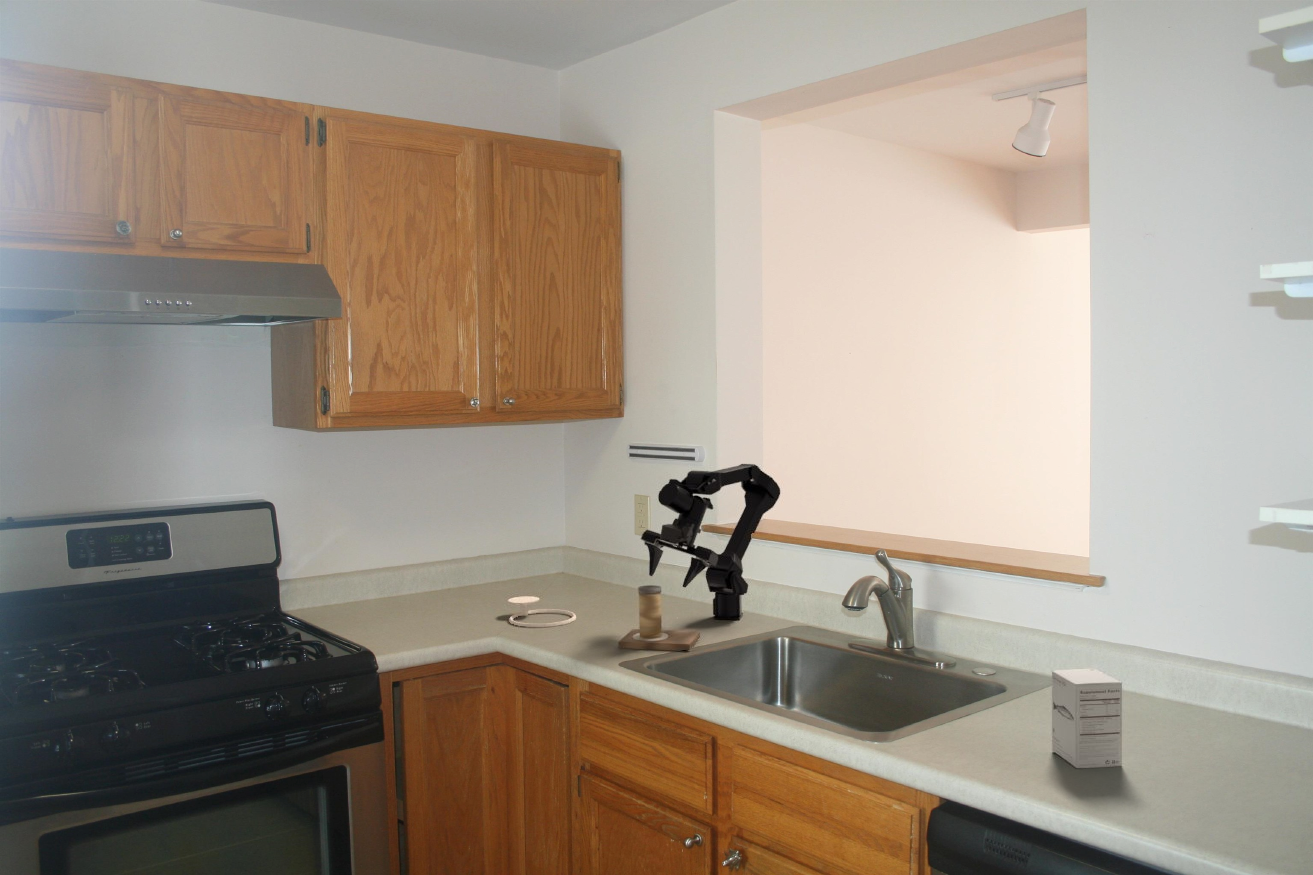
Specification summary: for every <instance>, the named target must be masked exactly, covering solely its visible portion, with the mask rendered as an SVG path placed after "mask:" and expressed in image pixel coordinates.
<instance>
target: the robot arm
mask: <svg viewBox="0 0 1313 875" xmlns="http://www.w3.org/2000/svg"><path fill="white" fill-rule="evenodd" d="M737 483H740V484H741V485H740V487H741V489H742V490H743V491H744V496H743V497H744V504H745V506H744V508H743V511H742V513H741V515H740V518H739V520H738V521H737V523H736V526H735V527H734V529H733V531H732V534H731V535H730V538H729V540H728V542H727V544H726V545H725V546H726V547H725V548H724V550H723V552H722V553H717V552H716V551H714V550H713V549H711V548H708V547H705V546H701V545H697V546H696V545H695V541H696V538H697V536H698V534H701V531H702V529H701V525H702V521H703V520H704V517H705V514H706V511H707V510H711V511H712V510H714V505H713V503H712V500H711V498H710V497H705V496H704V497H701V496H700V495H706V496H707V495H708V496H711V495H714V494H716V493H718V492H720V491H721V489H722V488H723V487H726V486H730V485H735V484H737ZM780 495H781V488H780V486H779V484H778V483H777V482H776V481H775V480H774V479H773V477H771V475H768V474H767V473H766V472H765V471H763V470H762V469H761V468H760V467H759V466H758V465H757V464H754V463H741V464H739V465H734V466H731V467H725V468H722V469H718V470H714V471H713V470H712V471H711V470H709V471H708V470H691V471H688V472H687V475H686V477H684V478H683V479H682V480H681V481H680V480H678V479H676V478H670V479H669V481H668V483H667V484H664V486H663V487H662V488H661V490H659V492H658V495H657V497H658V502H659V503H660V504H661V506H663V507H666V508H667V509H669V510H671V511H673V512H674V513H676V514H678V515H677V516H678V517H675V518H674V520H673V521H672V523H667V524H662V525H661V530H660V531H661V532H660V533H659V532H656V531H654V530H649V529H646V530H645V531H643V532H642V535H641V537H640V540H641V541H643V542H644V543H643V544H644V545H645V546H646V547H647V550H648V554H649V563H648V564H649V566H648V568H649V569H648V572H649V573H648V574H649V577H653V575H655V572H656V571H657V570H656V569H657V567H658V565H659V563H660V561H661V558H662V556H663V554H664V549H663V550H662V548H664V547H666V548H669V549H672V550H674V551H678V552H681V553H685V554H688V555H691V558H690V564H689V568H688V571H687V572H686V574H685V578H684V580H683V583H682V587H683V588H687V587H688V585H689V584H691V582H692V581H693V580H694V579H695V578H696V577H697V576H698V575H699V574H700V573H701V572H702V571H704V570H705V569H706V568H707V569H706V571H705V579H706V585H707V587H708V590H709V593H714V597H713V599H712V615H713V619H714V620H737V621H738V620H741V618H742V617H743V615H744V612H743V611H742V609H743V608H742V607H743V606H742V604H743V603H742V596H744V595H745V594H748V591H749V584H748V583H747V581H746V580H745V579H744V577H743V576H742V575H743V572H744V570H743V569H744V568H743V563H742V560H743V558H744V556H745V553H746V552H747V549H748V547H749V546H750V543H751V541H752V539H753V537H752V538H751V534H752V533H754V534H755V533H756V530H757V528H758V526H759V525H760V524H759V523H760V522H761V520H762V518H763V516H764V514H766V513H767V512H768V511H770V510H771V509H772V508H774V506H775V505H776V503H777V501H778V500H779V498H780ZM684 547H685V548H684Z"/></svg>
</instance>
